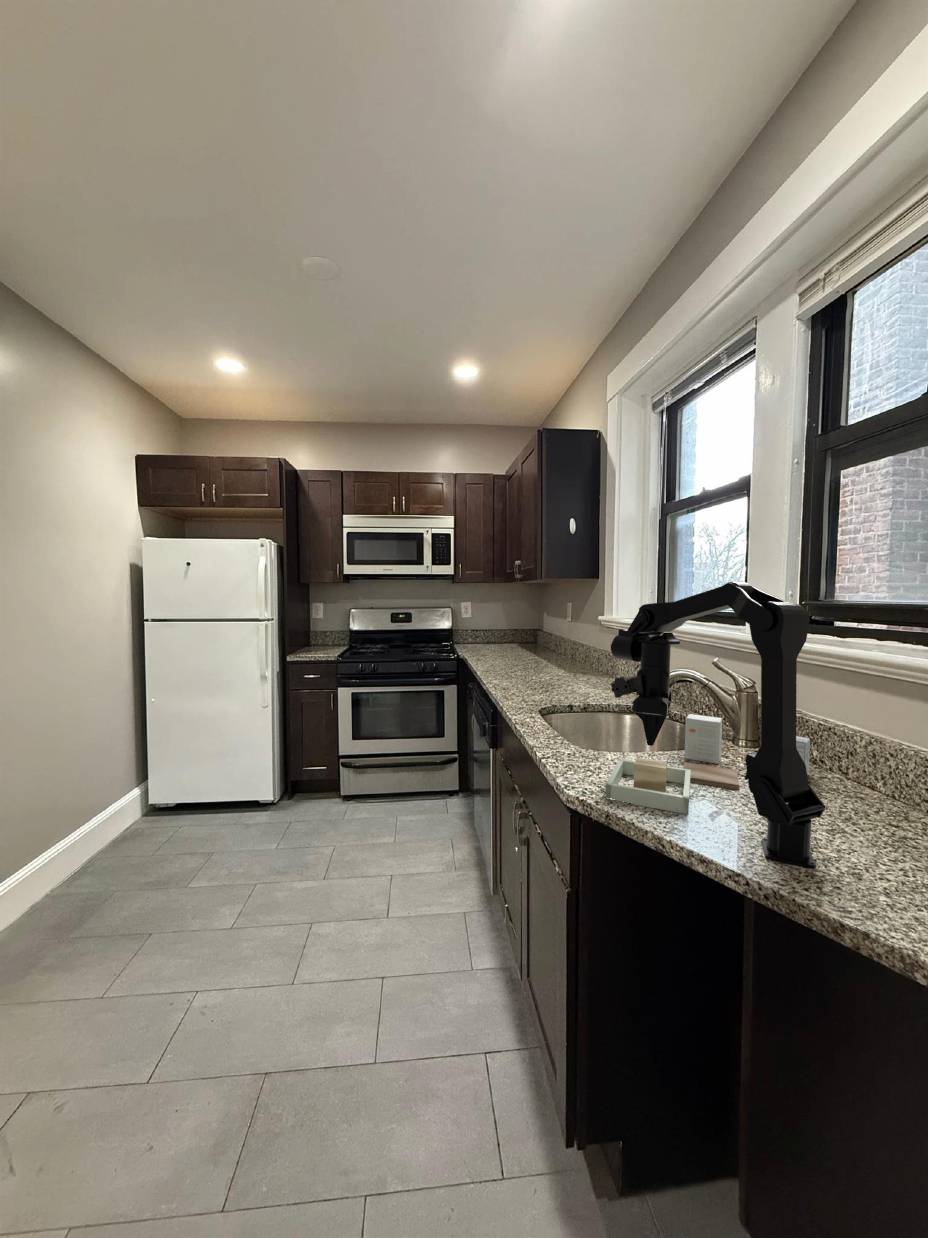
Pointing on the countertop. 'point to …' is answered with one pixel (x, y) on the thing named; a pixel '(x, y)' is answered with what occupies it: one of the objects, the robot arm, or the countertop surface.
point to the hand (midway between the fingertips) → (652, 739)
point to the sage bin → (649, 796)
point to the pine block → (650, 774)
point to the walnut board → (713, 775)
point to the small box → (703, 738)
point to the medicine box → (804, 750)
